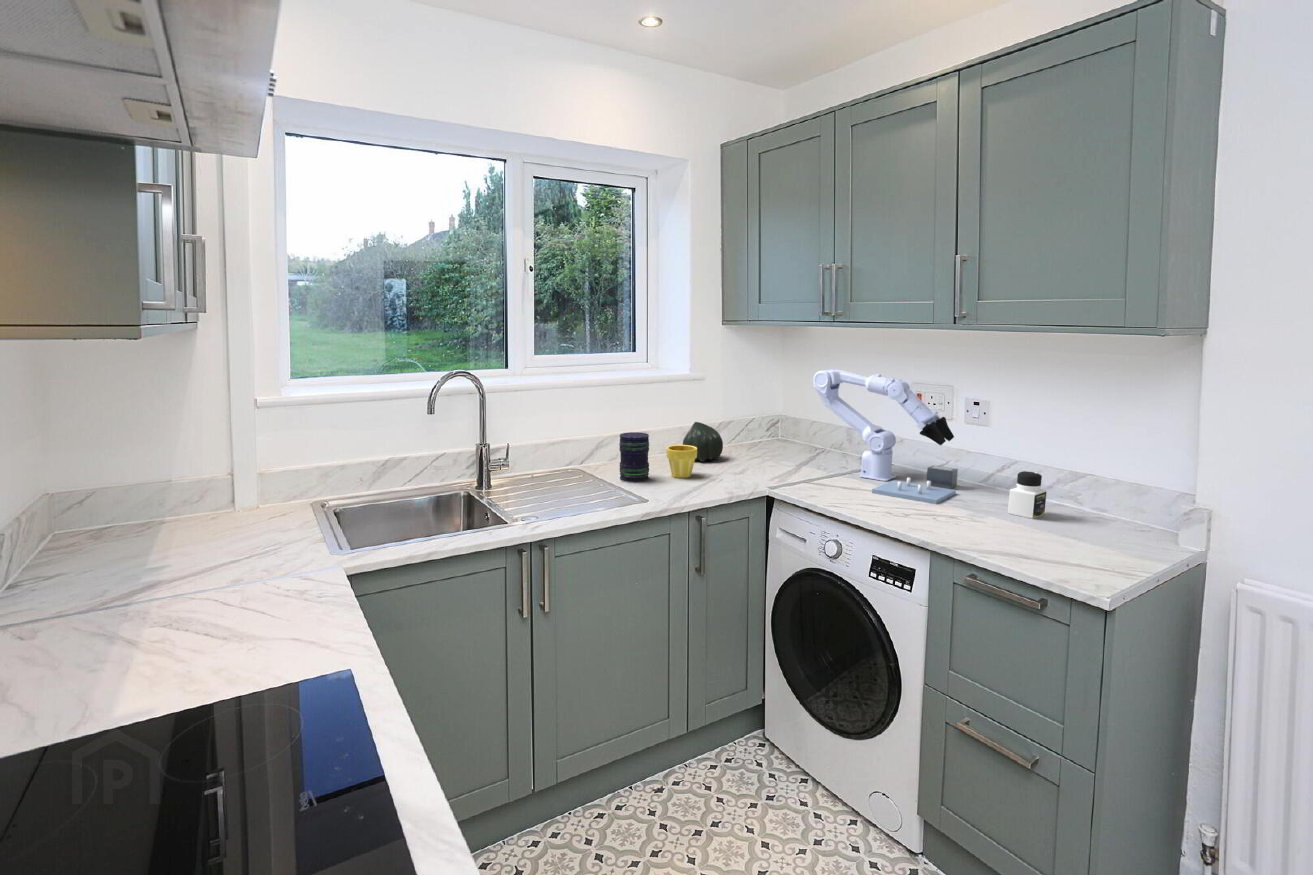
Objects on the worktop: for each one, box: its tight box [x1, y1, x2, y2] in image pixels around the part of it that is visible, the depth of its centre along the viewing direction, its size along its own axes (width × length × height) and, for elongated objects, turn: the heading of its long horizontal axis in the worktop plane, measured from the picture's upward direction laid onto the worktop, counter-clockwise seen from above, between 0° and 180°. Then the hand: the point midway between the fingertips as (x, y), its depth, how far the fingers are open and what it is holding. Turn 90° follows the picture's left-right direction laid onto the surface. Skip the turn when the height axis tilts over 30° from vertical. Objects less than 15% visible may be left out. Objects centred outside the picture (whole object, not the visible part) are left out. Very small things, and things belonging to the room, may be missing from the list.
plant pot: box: [666, 444, 697, 479], centre depth 256 cm, size 10×10×10 cm
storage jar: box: [619, 432, 650, 483], centre depth 250 cm, size 10×10×15 cm
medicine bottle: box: [1007, 470, 1047, 520], centre depth 210 cm, size 7×7×12 cm
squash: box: [682, 421, 724, 462], centre depth 282 cm, size 14×15×15 cm
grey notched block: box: [925, 465, 959, 490], centre depth 243 cm, size 8×4×6 cm, turn 49°
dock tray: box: [871, 477, 957, 505], centre depth 233 cm, size 20×16×4 cm
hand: (947, 441), depth 239 cm, fingers open, 7 cm apart
